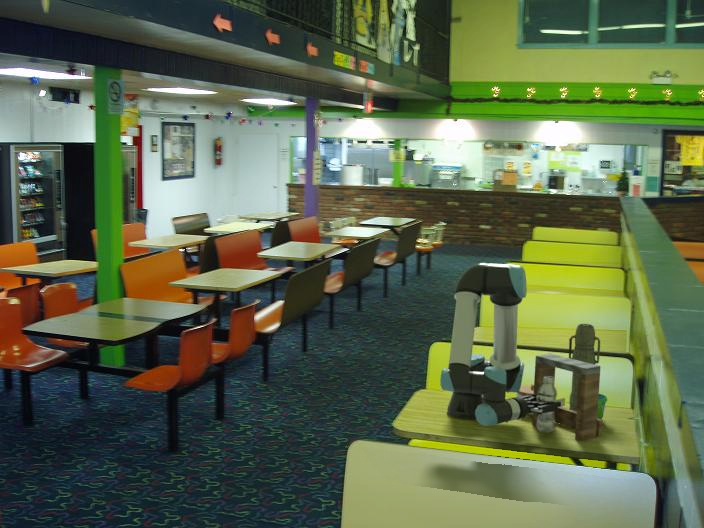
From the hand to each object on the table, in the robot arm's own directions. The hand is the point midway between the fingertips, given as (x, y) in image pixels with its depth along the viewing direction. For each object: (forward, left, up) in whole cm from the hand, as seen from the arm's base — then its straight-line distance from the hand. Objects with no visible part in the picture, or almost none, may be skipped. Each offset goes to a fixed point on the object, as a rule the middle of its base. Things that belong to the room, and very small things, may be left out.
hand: (556, 399), depth 294 cm
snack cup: (-10, +22, -13) cm, 27 cm away
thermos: (-24, +26, -13) cm, 37 cm away
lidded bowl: (-26, +5, -13) cm, 29 cm away
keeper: (-2, +6, -12) cm, 14 cm away
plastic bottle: (+2, -5, -11) cm, 12 cm away
